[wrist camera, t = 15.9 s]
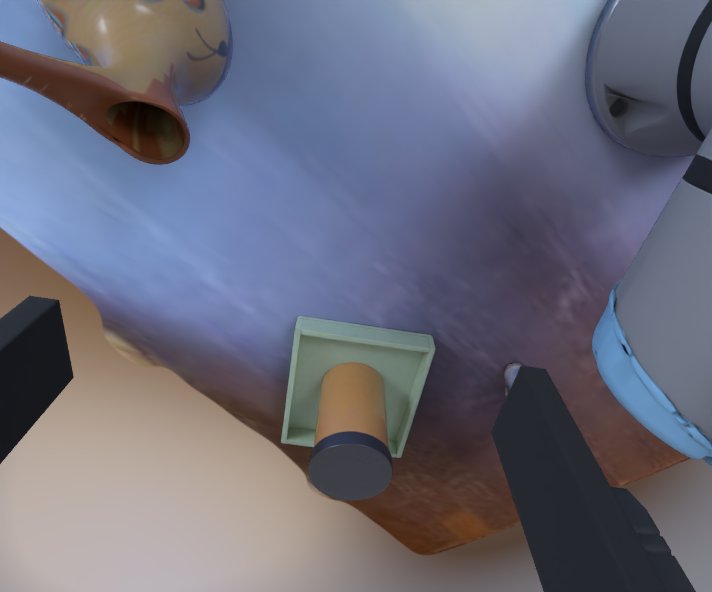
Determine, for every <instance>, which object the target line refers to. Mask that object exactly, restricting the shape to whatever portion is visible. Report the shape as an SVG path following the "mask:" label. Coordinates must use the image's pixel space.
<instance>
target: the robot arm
mask: <svg viewBox="0 0 712 592" xmlns="http://www.w3.org/2000/svg"><path fill="white" fill-rule="evenodd" d="M585 81H586V92H587V97H588V101H589V105H590V108H591V110H592V113H593V115H594V117H595V119H596V121H597V122H598V124H599V125H600V127H601V128H602V129H603V130H604V131H605V132H606V133H607V134H608V135H609V136H610V137H611V138H612V139H614V140H615V141H616V142H618V143H620V144H622V145H624V146H625V147H628V148H630V149H633V150H635V151H638V152H640V153H643V154H647V155H651V156H658V157H684V156H692V155H696V156H695V157H694V159H693V161H692V163H691V164H690V166H689V168H688V169H687V171H686V173H685V175H684V176H683V177H682V178H681V180H680V182H679V183H678V185H677V187H676V189H675V190H674V192H673V194H672V195H671V197H670V199H669V200H668V202H667V204H666V206H665V207H664V209H663V211H662V212H661V214H660V216H659V218H658V219H657V221H656V223H655V224H654V226H653V228H652V229H651V231H650V233H649V235H648V236H647V238H646V240H645V241H644V243H643V245H642V247H641V248H640V250H639V252H638V253H637V255H636V257H635V259H634V260H633V262H632V264H631V265H630V267H629V268H628V270H627V272H626V273H625V275H624V277H623V278H622V280H620V281H618V282H617V284H616V285H615V286H614V288H613V290H612V291H611V294H610V297H609V303H608V305H607V307H606V309H605V311H604V313H603V316H602V318H601V319H600V321H599V323H598V325H597V327H596V329H595V332H594V336H593V340H592V350H593V354H594V357H595V359H596V361H597V368H598V371H599V373H600V375H601V376H602V378H603V380H604V382H605V383H606V385H607V386H608V388H609V389H610V391H611V392H612V393H613V395H614V396H615V397H616V399H617V400H618V401H619V402H620V403H621V404H622V406H623V407H624V408H625V409H626V410H627V411H628V412H629V413H630V414H631V415H632V416H633V417H634V418H635V419H637V420H638V421H639V422H640V423H641V424H642V425H643V426H644V427H645V428H647V429H648V430H649V431H650V432H652V433H653V434H654V435H656V436H657V437H658V438H660V439H661V440H662V441H664V442H665V443H667V444H668V445H670V446H671V447H673V448H674V449H676V450H677V451H679V452H681V453H683V454H684V455H686V456H688V457H690V458H692V459H694V460H698V459H702V458H703V459H704V460H705V461H706V462H707V463H708V464H709V465H710V466H711V467H712V0H608V2H607V4H606V5H605V7H604V9H603V11H602V13H601V15H600V17H599V19H598V22H597V24H596V27H595V29H594V32H593V35H592V38H591V41H590V45H589V49H588V54H587V60H586V71H585ZM72 379H73V372H72V366H71V361H70V356H69V351H68V345H67V341H66V335H65V330H64V324H63V319H62V314H61V309H60V303H59V300H55V299H48V298H41V297H34V296H29V297H28V298H26V299H25V300H24V301H22V302H21V303H20V304H19V305H17V306H16V307H15V308H13V309H12V310H11V311H10V312H9V313H7V314H6V315H5V316H3V317H2V318H1V319H0V464H1V462H2V461H3V460H4V459H5V458H6V457H7V455H8V454H9V453H10V452H11V451H12V449H13V448H14V447H15V446H16V445H17V444H18V442H19V441H20V440H21V439H22V438H23V436H24V435H25V434H26V433H27V432H28V430H29V429H30V428H31V427H32V426H33V425H34V423H35V422H36V421H37V420H38V419H39V418H40V416H41V415H42V414H43V413H44V412H45V410H46V409H47V408H48V407H49V406H50V404H51V403H52V402H53V401H54V400H55V399H56V398H57V396H58V395H59V394H60V393H61V392H62V390H63V389H64V388H65V387H66V386H67V385H68V383H69V382H70V381H71V380H72ZM491 432H492V436H493V439H494V442H495V445H496V448H497V451H498V454H499V457H500V460H501V463H502V466H503V469H504V472H505V475H506V478H507V481H508V484H509V487H510V490H511V493H512V496H513V499H514V502H515V505H516V509H517V512H518V515H519V518H520V521H521V524H522V526H523V530H524V533H525V536H526V539H527V542H528V545H529V548H530V551H531V554H532V557H533V560H534V563H535V566H536V569H537V572H538V575H539V578H540V581H541V585H542V587H543V591H544V592H696V591H695V590H694V588H693V586H692V585H691V583H690V581H689V580H688V578H687V576H686V575H685V573H684V571H683V570H682V568H681V566H680V565H679V563H678V561H677V560H676V558H675V557H674V556H672V555H671V550H670V548H669V547H668V545H667V543H666V542H665V540H664V538H663V537H661V536H660V532H659V530H658V528H657V527H656V525H655V524H654V522H653V520H652V518H651V517H650V515H649V513H648V512H647V510H646V509H645V508H644V507H643V506H642V505H641V504H640V503H639V502H638V500H637V499H636V498H635V497H634V496H633V495H632V494H631V493H630V492H629V491H628V490H627V489H624V488H616V487H611V486H610V485H609V483H608V481H607V479H606V477H605V476H604V474H603V472H602V470H601V468H600V467H599V465H598V463H597V461H596V459H595V458H594V456H593V454H592V452H591V450H590V449H589V447H588V445H587V443H586V441H585V440H584V438H583V436H582V434H581V432H580V431H579V429H578V427H577V425H576V423H575V422H574V420H573V418H572V416H571V414H570V413H569V411H568V409H567V407H566V405H565V403H564V402H563V400H562V398H561V396H560V394H559V393H558V391H557V389H556V387H555V385H554V384H553V382H552V380H551V378H550V376H549V375H548V373H547V371H546V369H540V368H533V367H526V366H520V368H519V371H518V373H517V375H516V377H515V380H514V382H513V384H512V386H511V389H510V391H509V393H508V395H507V398H506V400H505V402H504V404H503V407H502V409H501V411H500V413H499V416H498V418H497V420H496V422H495V425H494V427H493V429H492V431H491Z"/></svg>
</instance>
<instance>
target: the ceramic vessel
mask: <svg viewBox="0 0 712 592" xmlns="http://www.w3.org/2000/svg"><path fill="white" fill-rule="evenodd" d="M37 1H38V3H39V5H40V7H41V8H42V10H43V12H44V14H45V15H46V17H47V19H48V20H49V22H50V23H51V25H52V26H53V28H54V29H55V30H56V32H57V33H58V35H59V36H60V37H61V38H62V40H63V41H64V42H65V43H66V44H67V46H68V47H69V48H70V49H71V50H72V51H73V52H74V53H75V54H76V55H77V56H78V57H79V58H80V59H81V60H82V61H83V62H84V63H85V64H86V65H83V64H79V63H74V62H69V61H65V60H61V59H57V58H53V57H49V56H45V55H42V54H38V53H35V52H32V51H28V50H25V49H22V48H19V47H16V46H13V45H10V44H7V43H4V42H1V41H0V78H3V79H6V80H9V81H11V82H14V83H16V84H19V85H21V86H24V87H26V88H28V89H30V90H33V91H35V92H37V93H39V94H41V95H43V96H44V97H46V98H48V99H50V100H52V101H53V102H55V103H57V104H59V105H60V106H62V107H64V108H65V109H67V110H68V111H70V112H71V113H73V114H74V115H76V116H77V117H79V118H80V119H81V120H83V121H84V122H85V123H87V124H88V125H89V126H91V127H92V128H93V129H94V130H96V131H97V132H98V133H100V134H101V135H102V136H104V137H105V138H107V139H108V140H110V141H111V142H113V143H115V144H116V145H118V146H119V147H120V148H122V149H123V150H124V151H125V152H127V153H128V154H130V155H131V156H133V157H134V158H136V159H138V160H140V161H143V162H146V163H150V164H158V165H161V164H169V163H172V162H174V161H176V160H178V159H179V158H181V157H182V156H183V155H184V154H185V152H186V151H187V149H188V147H189V143H190V133H189V129H188V125H187V123H186V120H185V118H184V116H183V113H182V111H181V109H180V107H179V106H185V105H191V104H195V103H198V102H200V101H203V100H204V99H206V98H208V97H209V96H211V95H212V94H213V93H214V92H216V91H217V89H218V88H219V87H220V86H221V85H222V83H223V81H224V80H225V78H226V76H227V73H228V71H229V68H230V64H231V59H232V49H233V41H232V30H231V24H230V19H229V15H228V12H227V8H226V5H225V2H224V0H37Z"/></svg>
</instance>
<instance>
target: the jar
mask: <svg viewBox="0 0 712 592" xmlns="http://www.w3.org/2000/svg"><path fill="white" fill-rule="evenodd" d="M308 472H309V477H310V480H311V482H312V483H313V485H314V486H315V487H316V488H317V489H318V490H319V491H321V492H322V493H324V494H326V495H328V496H330V497H333V498H336V499H341V500H362V499H366V498H370V497H373V496H375V495H377V494H379V493H380V492H382V491H383V490H384V489H385V488H386V487H387V486H388V485H389V483H390V482H391V479H392V476H393V466H392V456H391V453H390V451H389V440H388V425H387V410H386V395H385V384H384V380H383V378H382V376H381V375H380V374H379V373H378V372H377V371H376V370H375V369H374V368H372V367H370V366H368V365H366V364H363V363H357V362H348V363H342V364H339V365H336V366H334V367H333V368H331V369H330V370H329V371H327V373H326V374H325V375H324V376H323V378H322V381H321V386H320V395H319V403H318V412H317V420H316V429H315V437H314V446H313V449H312V452H311V455H310V461H309V470H308Z"/></svg>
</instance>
